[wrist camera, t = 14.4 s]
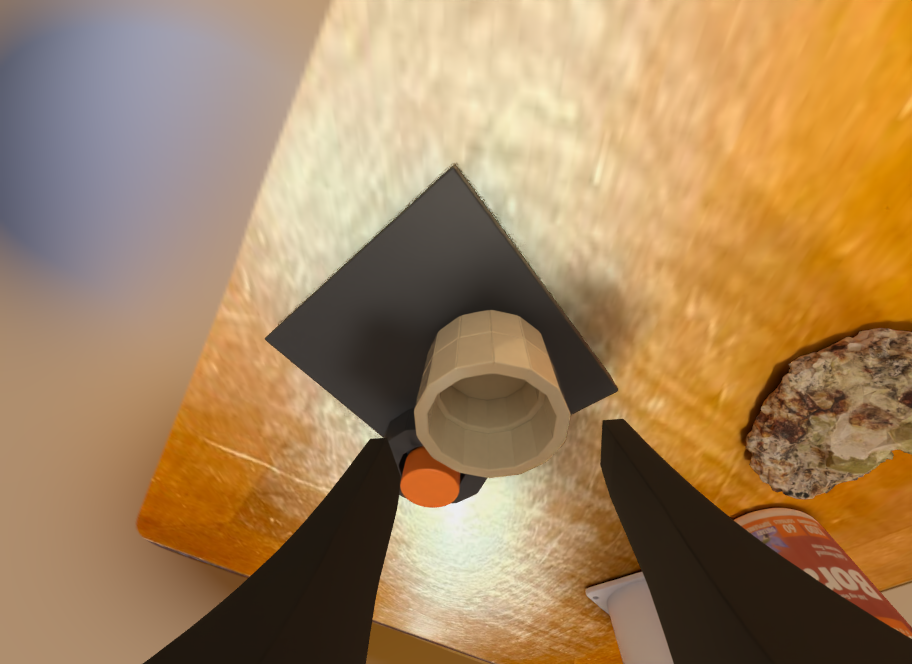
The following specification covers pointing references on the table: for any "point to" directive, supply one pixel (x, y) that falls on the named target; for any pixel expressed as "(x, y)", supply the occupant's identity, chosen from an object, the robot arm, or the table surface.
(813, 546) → the pill bottle
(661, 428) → the table surface
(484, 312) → the beige hollow cylinder
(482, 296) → the scale
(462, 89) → the table surface
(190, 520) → the table surface
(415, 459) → the button
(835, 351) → the mineral rock
